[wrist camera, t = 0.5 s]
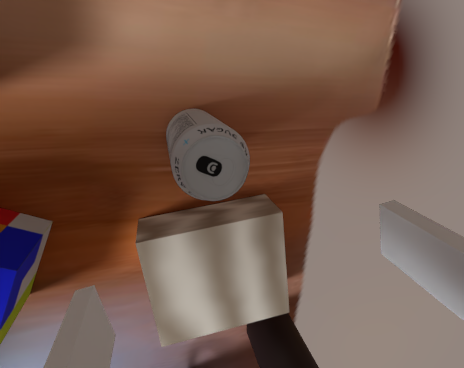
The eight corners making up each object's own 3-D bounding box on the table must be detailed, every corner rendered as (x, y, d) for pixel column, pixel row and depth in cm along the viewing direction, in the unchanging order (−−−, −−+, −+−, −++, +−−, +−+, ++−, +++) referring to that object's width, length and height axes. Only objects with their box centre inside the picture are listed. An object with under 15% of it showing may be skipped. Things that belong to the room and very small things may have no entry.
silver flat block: (160, 312, 42) (161, 346, 37) (138, 219, 38) (135, 243, 32) (273, 283, 45) (289, 312, 40) (265, 194, 41) (282, 212, 35)
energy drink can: (205, 167, 38) (234, 219, 24) (157, 148, 36) (158, 192, 22) (226, 121, 36) (270, 147, 23) (178, 98, 35) (193, 111, 21)
